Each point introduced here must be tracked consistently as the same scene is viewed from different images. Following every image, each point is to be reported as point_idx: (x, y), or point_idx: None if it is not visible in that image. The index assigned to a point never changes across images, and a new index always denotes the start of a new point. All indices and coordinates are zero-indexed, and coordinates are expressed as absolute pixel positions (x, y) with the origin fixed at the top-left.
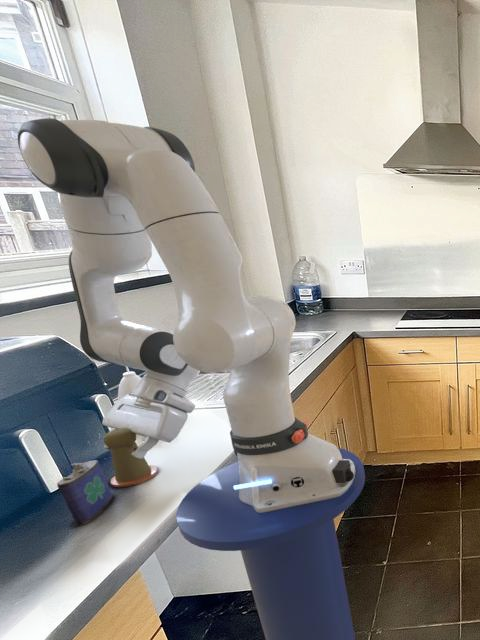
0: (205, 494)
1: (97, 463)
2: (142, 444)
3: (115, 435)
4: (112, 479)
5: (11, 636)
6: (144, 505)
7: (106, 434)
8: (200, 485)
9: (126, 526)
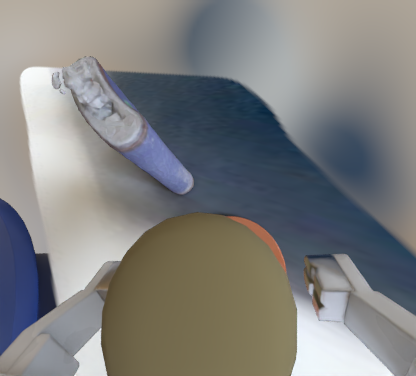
0: None
1: (107, 143)
2: (57, 313)
3: (127, 261)
4: (255, 227)
5: (42, 68)
6: (97, 209)
7: (215, 240)
8: (7, 289)
9: (76, 168)
